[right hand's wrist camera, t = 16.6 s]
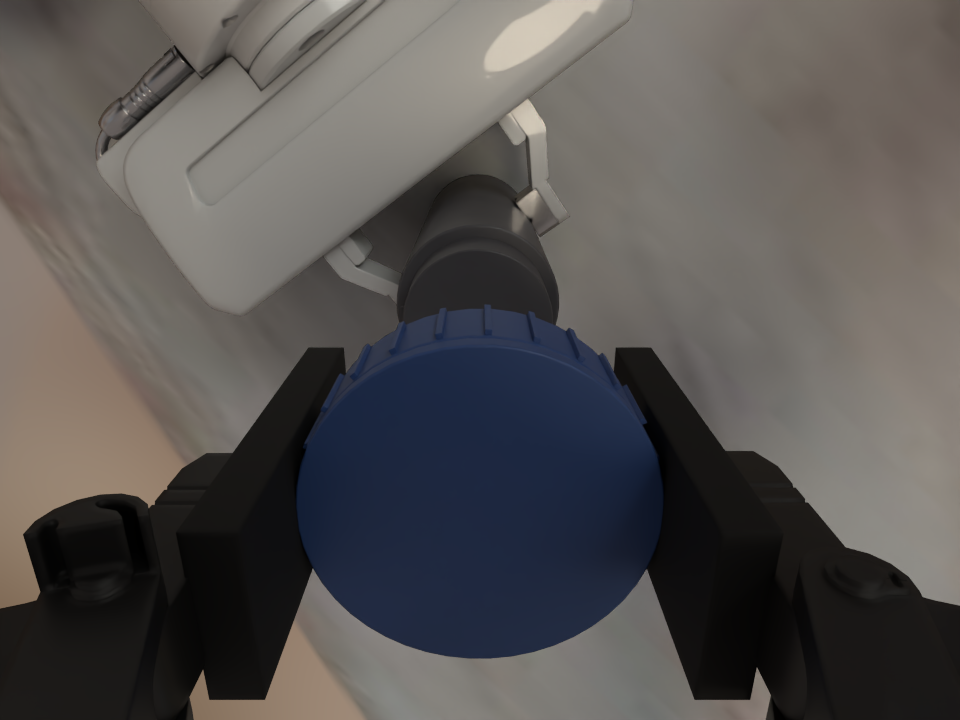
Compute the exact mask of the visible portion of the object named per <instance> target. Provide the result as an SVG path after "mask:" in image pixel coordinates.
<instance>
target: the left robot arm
mask: <svg viewBox="0 0 960 720" xmlns="http://www.w3.org/2000/svg"><path fill="white" fill-rule="evenodd" d="M139 2H140V3H141V4H142V5H143V7H144V8H145V9H146V10H147V11H148V13H149V14H150V15H151V16H152V18H153V19H154V20H155V21H156V22H157V23H158V25H159V26H160V27H161V29H162V30H163V31H164V32H165V34H166V35H167V36H168V37H169V39H170V40H171V41H172V42H173V43H174V46H173V48H171V49H170V50H169V51H167V52H166V53H165V54H164V56H163V57H162V58H161V59H159V60H158V61H157V62H156V63H155V64H154V65H153V66H152V67H151V68H150V69H149V70H148V71H147V72H146V73H145V74H144V75H143V77H142V78H141V79H140V80H139V82H138V83H137V84H136V85H135V86H134V88H132V89H131V90H130V92H128V93H127V94H126V95H125V96H124V97H123V98H122V97H120V98H118V99H117V100H115V101H114V102H113V103H112V104H110V105H109V106H108V107H107V109H106V110H105V111H104V112H103V114H102V115H101V117H100V118H99V121H98V124H99V126H100V128H101V129H102V130H101V132H100V134H99V136H98V139H97V143H96V159H97V169H98V171H99V173H100V175H101V177H102V178H103V180H104V181H105V182H106V183H107V185H108V186H109V187H110V188H111V189H112V190H113V191H114V192H115V193H116V194H117V196H118V197H119V198H120V199H121V200H122V201H123V202H124V203H125V204H126V205H127V207H128V208H129V209H131V210H132V211H133V212H134V213H136V214H137V215H139V216H141V217H142V218H143V220H144V221H145V223H146V224H147V226H148V227H149V229H150V230H151V232H152V233H153V235H154V236H155V238H156V239H157V241H158V242H159V244H160V245H161V247H162V248H163V249H164V251H165V252H166V254H167V255H168V256H169V258H170V259H171V260H172V262H173V263H174V264H175V266H176V267H177V268H178V270H179V271H180V272H181V274H182V275H183V276H184V277H185V279H186V280H187V281H188V283H189V284H190V285H191V286H192V287H193V289H194V290H195V291H196V292H197V294H198V295H199V296H200V297H201V298H202V299H203V300H204V301H205V303H206V304H208V305H209V306H210V307H211V308H213V309H215V310H218V311H221V312H225V313H228V314H232V315H237V316H244V315H246V314H247V313H249V312H250V311H251V310H253V309H254V308H255V307H257V306H258V305H259V304H261V303H262V302H263V301H264V300H266V299H267V298H268V297H270V296H271V295H272V294H274V293H275V292H276V291H278V290H279V289H280V288H281V287H283V286H284V285H285V284H287V283H288V282H289V281H291V280H292V279H293V278H294V277H296V276H297V275H298V274H300V273H301V272H302V271H304V270H305V269H306V268H308V267H309V266H310V265H311V264H313V263H314V262H315V261H317V260H318V259H319V258H321V257H322V256H323V257H324V258H325V260H326V261H327V262H328V263H329V264H330V266H331V267H332V268H333V269H334V271H335V272H336V273H337V274H338V275H339V277H340V278H341V279H343V280H346V281H348V282H351V283H353V284H356V285H358V286H361V287H363V288H366V289H368V290H371V291H374V292H376V293H379V294H381V295H384V296H388V295H389V296H390V297H391V298H392V300H393V301H394V302H395V303H396V305H397V292H398V286H399V282H400V279H401V276H402V273H400V272H397V271H395V270H393V269H391V268H389V267H386V266H384V265H382V264H380V263H378V262H376V261H373V260H371V259H369V258H367V256H368V255H369V254H370V252H371V251H372V249H373V245H372V244H371V243H370V241H369V240H368V239H367V238H366V236H365V235H364V234H363V232H362V231H361V230H360V229H359V228H360V227H361V226H362V225H364V224H365V223H366V222H368V221H369V220H370V219H371V218H373V217H374V216H375V215H377V214H378V213H379V212H381V211H382V210H383V209H384V208H386V207H387V206H388V205H390V204H391V203H392V202H394V201H395V200H396V199H398V198H399V197H400V196H401V195H403V194H404V193H405V192H407V191H408V190H409V189H411V188H412V187H413V186H414V185H416V184H417V183H418V182H420V181H421V180H422V179H424V178H425V177H426V176H428V175H429V174H430V173H431V172H433V171H434V170H435V169H437V168H438V167H439V166H441V165H442V164H443V163H444V162H446V161H447V160H448V159H450V158H451V157H452V156H454V155H455V154H456V153H458V152H459V151H460V150H461V149H463V148H464V147H465V146H467V145H468V144H469V143H471V142H472V141H473V140H474V139H476V138H477V137H478V136H480V135H481V134H482V133H484V132H485V131H486V130H487V129H489V128H490V127H491V126H493V125H494V124H495V123H497V122H498V123H499V125H500V126H501V128H502V129H503V131H504V132H505V134H506V135H507V136H508V138H509V139H510V141H511V142H512V144H513V145H519V144H520V143H522V142H523V141H524V140H525V143H526V156H527V168H528V181H529V186H527V187H526V188H525V189H523V190H522V191H521V192H520V193H518V194H517V195H516V196H514V199H515V201H516V204H517V205H518V206H519V208H520V209H521V211H522V212H523V213H524V215H525V216H526V217H528V218H529V219H530V222H531V224H532V226H533V228H534V230H535V231H536V233H537V234H538V235H539V236H540V237H541V236H542V235H544V234H545V233H547V232H548V231H550V230H551V229H553V228H554V227H556V226H557V225H559V223H561V222H563V221H564V220H566V219H567V218H568V217H570V216H569V214H568V213H567V211H566V209H565V208H564V206H563V205H562V203H561V202H560V200H559V199H558V197H557V196H556V194H555V193H554V191H553V190H552V188H551V187H550V185H549V184H548V182H547V181H546V180H547V179H548V178H549V173H548V156H547V140H546V125H545V124H544V122H543V121H542V119H541V118H540V116H539V114H538V113H537V111H536V110H535V108H534V107H533V105H532V104H531V102H530V100H529V99H528V98H529V97H531V96H532V95H533V94H534V93H536V92H537V91H538V90H540V89H541V88H542V87H544V86H545V85H546V84H547V83H549V82H550V81H551V80H553V79H554V78H555V77H557V76H558V75H559V74H561V73H562V72H563V71H564V70H566V69H567V68H568V67H570V66H571V65H572V64H574V63H575V62H576V61H577V60H579V59H580V58H581V57H583V56H584V55H585V54H587V53H588V52H589V51H591V50H592V49H593V48H594V47H596V46H597V45H598V44H600V43H601V42H602V41H604V40H605V39H606V38H607V37H609V36H610V35H611V34H613V33H614V32H615V31H617V30H618V29H619V28H620V27H622V26H623V25H624V24H626V23H627V22H628V21H629V19H630V17H631V13H632V7H633V0H139ZM111 138H113V139H115V140H118V141H117V142H116V143H115V144H114V145H113V146H112V147H111V148H110V149H108V145H109V141H110V139H111ZM119 139H120V140H119ZM557 220H558V221H557Z"/></svg>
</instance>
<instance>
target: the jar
mask: <svg viewBox="0 0 960 720" xmlns="http://www.w3.org/2000/svg"><path fill="white" fill-rule="evenodd" d="M516 195H517V193H516V192H515V191H514V190H513V189H512V188H511V187H510V186H509V185H508V184H506V183H505V182H503V181H501V180H499V179H497V178H494V177H491V176H486V175H470V176H465V177H462V178H459V179H457V180H455V181H453V182H452V183H450V184H449V185H447V186H446V187H445V188H444V189H443V190H442V191H441V192H440V193H439V194H438V196H437V197H436V199H435V201H434V203H433V205H432V207H431V209H430V212H429V214H428V216H427V218H426V221H425V223H424V225H423V227H422V230H421V232H420V234H419V237H418V239H417V241H416V243H415V246H414V248H413V250H412V253H411V255H410V257H409V259H408V262H407V264H406V266H405V269H404V271H403V273H402V276H401V279H400V282H399V286H398V292H397V313H398V318H399V322H400V323H401V322H403V321H404V322H405V324H406V325H407V324H409V323H412V322H414V321H417V320H419V319H422V318H424V317H428V316H432V315H435V314H439V311H440V309H441V308H446V310H447V312H448V311H456V310H464V309H484V305H491V309H496V310H504V311H512V312H517V313H521V314H524V315H527V314H528V311H531V312H534V313H535V317H536V318H538V319H541V320H543V321H546V322H548V323H551V324H553V325H556V321H557V318H558V311H559V294H558V287H557V283H556V280H555V276H554V274H553V272H552V269H551V267H550V265H549V262H548V260H547V258H546V255H545V253H544V251H543V248H542V246H541V244H540V241H539V239H538V237H537V234H536V232H535V230H534V228H533V226H532V224H531V222H530V219H529V218H528V217H526V216H525V215H524V213H523V212H522V211H521V209H520V208H519V206H518V205H517V204H516V201H515V199H514V196H516Z"/></svg>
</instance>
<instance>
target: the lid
mask: <svg viewBox="0 0 960 720" xmlns="http://www.w3.org/2000/svg"><path fill="white" fill-rule="evenodd" d="M645 423H647V422H646V420H645V418H644V416H643V414H642V412H641V410H640V409H639V407H638V405H637V403H636V401H635V399H634V397H633V395H632V394H631V392H630V390H629V388H628V386H627V385H624V386H621V384H620V382H619V380H618V379H617V377H616V375H615V373H614V371H613V369H612V367H611V365H610V363H609V362H608V360H607V358H606V356H605V355H604V354H603V353H601V354H600V355H599V356H598V355H597V354H596V353H595V352H594V351H593V350H592V349H591V348H590V347H588V346H587V345H586V344H584V343H583V342H582V341H580V340H579V339H578V338H577V337H576V334H575V332H574V330H572V329H570V328H568V330H567V331H565V330H563V329H561V328H559V327H558V326H556V325H553V324H551V323H548V322H546V321H543V320H541V319H538V318H536V317H535V313H534V312H531V311H528V314H527V315H524V314H521V313H517V312H512V311H504V310H496V309H491V305H484V309H464V310H456V311H448V312H447V310H446V308H441V309H440V311H439V314H435V315H432V316H428V317H424V318H422V319H419V320H417V321H414V322H412V323H409V324H407V325H406V324H405V322H404V321H403V322H401V323H399V324H398V327H397V329H396V330H395V331H393V332H392V333H390V334H388V335H386V336H385V337H383V338H382V339H381V340H379V341H378V342H377V343H375V344H374V345H373V346H370V345H369V344H367V345H366V346H364V348H363V350H362V352H361V354H360V356H359V358H358V360H357V361H356V362H355V363H354V364H353V365H352V366H351V368H350V369H349V370H348V372H347V373H346V374H345V376H344V375H342V374H341V373H340V374H339V376H338V377H337V379H336V381H335V383H334V385H333V387H332V389H331V391H330V393H329V394H328V396H327V398H326V400H325V402H324V404H323V406H322V408H321V412H320V414H319V416H318V418H317V420H316V422H315V424H314V426H313V428H312V430H311V431H310V433H309V435H308V437H307V439H306V441H305V443H304V446H303V449H306V451H305V453H304V456H303V459H302V462H301V464H300V469H299V474H298V479H297V484H296V511H297V519H298V528H299V533H300V536H301V540H302V544H303V547H304V550H305V552H306V554H307V556H308V559H309V561H310V563H311V566H312V567H313V569H314V571H315V572H316V574H317V575H318V577H319V579H320V580H321V582H322V584H323V585H324V586H325V587H326V588H327V590H328V591H329V592H330V593H331V595H332V596H333V597H334V598H335V599H336V600H337V601H338V602H339V603H340V604H341V605H342V606H343V607H344V608H345V609H346V610H347V611H348V612H349V613H350V614H352V615H353V616H354V617H356V618H357V619H358V620H360V621H361V622H362V623H364V624H365V625H367V626H368V627H370V628H371V629H373V630H375V631H377V632H378V633H380V634H382V635H384V636H385V637H388V638H390V639H392V640H394V641H397V642H399V643H401V644H403V645H406V646H409V647H412V648H415V649H419V650H422V651H425V652H429V653H434V654H439V655H444V656H450V657H460V658H500V657H510V656H516V655H521V654H526V653H531V652H535V651H538V650H541V649H544V648H547V647H551V646H554V645H556V644H558V643H561V642H563V641H565V640H568V639H570V638H572V637H574V636H576V635H578V634H580V633H581V632H583V631H585V630H587V629H588V628H590V627H592V626H593V625H594V624H596V623H597V622H599V621H600V620H601V619H603V618H604V617H605V616H607V615H608V614H609V613H610V612H611V611H612V610H614V609H615V608H616V607H617V606H618V605H619V604H620V603H621V602H622V601H623V600H624V599H625V598H626V597H627V595H628V594H629V593H630V592H631V591H632V589H633V588H634V587H635V586H636V585H637V583H638V582H639V580H640V578H641V577H642V575H643V574H644V572H645V570H646V569H647V567H648V565H649V563H650V561H651V558H652V556H653V554H654V552H655V549H656V547H657V543H658V540H659V536H660V531H661V523H662V515H663V506H664V485H663V480H662V474H661V469H660V465H659V461H660V458H659V455H658V453H657V451H656V449H655V447H654V445H653V443H652V442H651V440H650V438H649V436H648V434H647V432H646V430H645V428H644V426H643V424H645Z"/></svg>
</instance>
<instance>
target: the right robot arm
mask: <svg viewBox="0 0 960 720" xmlns="http://www.w3.org/2000/svg"><path fill="white" fill-rule="evenodd" d="M340 373H341V374H342V375H344V376H345V374H346V370H345V357H344V348H308V349H307V351H306V352H305V353H304V355H303V356H302V358H301V359H300V360H299V362H298V363H297V365H296V366H295V367H294V369H293V370H292V371H291V373H290V374H289V376H288V377H287V378H286V380H285V381H284V383H283V384H282V385H281V387H280V388H279V390H278V391H277V392H276V394H275V395H274V397H273V398H272V399H271V401H270V402H269V403H268V405H267V406H266V408H265V409H264V410H263V412H262V413H261V415H260V416H259V417H258V419H257V420H256V422H255V423H254V424H253V426H252V427H251V429H250V430H249V431H248V433H247V434H246V435H245V437H244V438H243V440H242V441H241V442H240V444H239V445H238V447H237V448H236V449H235V451H234V452H233V453H206V454H205V455H203V456H201V457H200V458H198V459H197V460H195V461H193V462H192V463H190V464H189V465H187V466H185V467H184V468H182V469H181V470H180V472H179V473H178V474H177V475H176V477H175V478H174V479H173V480H172V481H171V483H170V484H169V485H168V486H167V490H164V491H163V492H162V493H161V495H160V496H159V497H158V498H157V499H156V501H155V505H152V506H151V507H150V508H148V504H147V503H145V502H144V501H143V500H141V499H140V498H139V497H136V496H131V495H126V494H104V495H97V496H93V497H88V498H84V499H80V500H76V501H73V502H71V503H69V504H66V505H63V506H61V507H59V508H56V509H54V510H52V511H51V512H49V513H47V514H46V515H44V516H43V517H41V518H40V519H38V520H36V521H35V522H34V523H33V524H32V525H31V526H30V527H29V529H28V530H27V531H26V532H25V533H24V534H23V536H24V539H25V542H26V546H27V549H28V552H29V556H30V559H31V562H32V565H33V569H34V572H35V575H36V579H37V582H38V585H39V588H40V594H39V596H38V599H37V600H36V601H33V602H29V603H25V604H20V605H16V606H11V607H6V608H1V609H0V720H194V719H193V712H192V707H191V702H190V698H189V696H190V695H191V692H192V690H193V688H194V686H195V684H196V682H197V680H198V678H199V676H200V674H201V672H202V670H204V675H205V680H206V685H207V690H208V695H209V699H210V700H265V698H266V695H267V693H268V690H269V687H270V684H271V682H272V679H273V676H274V673H275V671H276V668H277V665H278V662H279V660H280V657H281V654H282V651H283V649H284V646H285V643H286V640H287V638H288V635H289V632H290V629H291V627H292V624H293V621H294V618H295V616H296V613H297V610H298V607H299V605H300V602H301V599H302V596H303V594H304V591H305V588H306V585H307V583H308V580H309V577H310V574H311V572H312V569H313V567H312V566H311V563H310V561H309V559H308V556H307V554H306V552H305V550H304V547H303V544H302V540H301V536H300V533H299V528H298V519H297V511H296V484H297V479H298V474H299V469H300V464H301V462H302V459H303V456H304V453H305V451H306V449H303V446H304V443H305V441H306V439H307V437H308V435H309V433H310V431H311V430H312V428H313V426H314V424H315V422H316V420H317V418H318V416H319V414H320V412H321V408H322V406H323V404H324V402H325V400H326V398H327V396H328V394H329V393H330V391H331V389H332V387H333V385H334V383H335V381H336V379H337V377H338V376H339V374H340ZM614 373H615V375H616V377H617V379H618V380H619V382H620V384H621V386H624V385H627V386H628V388H629V390H630V392H631V394H632V395H633V397H634V399H635V401H636V403H637V405H638V407H639V409H640V410H641V412H642V414H643V416H644V418H645V420H646V422H647V423H645V424H643V426H644V428H645V430H646V432H647V434H648V436H649V438H650V440H651V442H652V443H653V445H654V447H655V449H656V451H657V453H658V455H659V458H660V461H659V465H660V469H661V474H662V480H663V485H664V506H663V515H662V523H661V531H660V536H659V540H658V543H657V547H656V549H655V552H654V554H653V556H652V558H651V561H650V563H649V565H648V567H647V570H648V573H649V576H650V578H651V581H652V584H653V587H654V589H655V592H656V595H657V598H658V600H659V603H660V606H661V609H662V611H663V614H664V617H665V620H666V622H667V625H668V628H669V631H670V633H671V636H672V639H673V642H674V644H675V647H676V650H677V653H678V655H679V658H680V661H681V664H682V666H683V669H684V672H685V675H686V677H687V680H688V683H689V686H690V688H691V691H692V694H693V697H694V699H695V700H750V698H751V693H752V688H753V683H754V678H755V673H756V668H758V670H759V672H760V674H761V676H762V678H763V680H764V682H765V684H766V686H767V688H768V690H769V692H770V694H771V698H770V702H769V707H768V712H767V716H766V720H960V606H958V605H954V604H949V603H944V602H939V601H934V600H931V599H927V598H923V597H922V595H921V593H920V591H919V590H918V588H917V587H916V586H915V585H914V583H913V582H912V581H911V579H910V578H909V577H908V576H907V575H905V574H904V573H903V572H901V571H900V570H899V569H897V568H896V567H894V566H893V565H892V564H890V563H888V562H886V561H884V560H882V559H879V558H877V557H875V556H873V555H871V554H868V553H864V552H861V551H857V550H853V549H849V548H846V547H845V546H844V545H843V544H842V543H841V541H840V540H839V539H838V538H837V537H836V535H835V534H834V533H833V532H832V531H831V529H830V528H829V527H828V526H827V525H826V523H825V522H824V521H823V520H822V519H821V517H820V516H819V515H818V514H817V513H816V511H815V510H814V509H813V508H812V507H811V505H810V504H809V503H805V498H804V497H803V496H802V495H801V494H800V492H799V491H798V490H797V489H796V488H793V484H792V483H791V482H790V480H789V479H788V478H787V477H786V476H785V474H784V473H783V472H782V471H781V470H780V468H779V467H778V466H776V465H775V464H773V463H772V462H770V461H768V460H767V459H765V458H764V457H762V456H760V455H759V454H757V453H755V452H754V451H725V450H724V449H723V447H722V446H721V444H720V443H719V442H718V440H717V439H716V437H715V436H714V435H713V433H712V432H711V431H710V429H709V428H708V426H707V425H706V424H705V422H704V421H703V419H702V418H701V417H700V415H699V414H698V412H697V411H696V410H695V408H694V407H693V405H692V404H691V403H690V401H689V400H688V399H687V397H686V396H685V394H684V393H683V392H682V390H681V389H680V387H679V386H678V385H677V383H676V382H675V380H674V379H673V378H672V376H671V375H670V373H669V372H668V371H667V369H666V368H665V367H664V365H663V364H662V362H661V361H660V360H659V358H658V357H657V355H656V354H655V353H654V351H653V350H652V348H616V352H615V364H614Z"/></svg>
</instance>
